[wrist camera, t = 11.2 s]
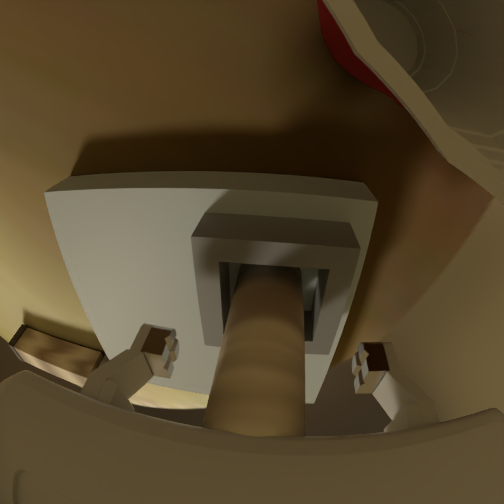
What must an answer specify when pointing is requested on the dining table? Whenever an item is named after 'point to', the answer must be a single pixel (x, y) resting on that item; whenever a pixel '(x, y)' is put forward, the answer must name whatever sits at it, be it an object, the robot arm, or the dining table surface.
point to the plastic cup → (432, 70)
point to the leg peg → (261, 357)
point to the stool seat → (209, 256)
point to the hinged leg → (56, 355)
